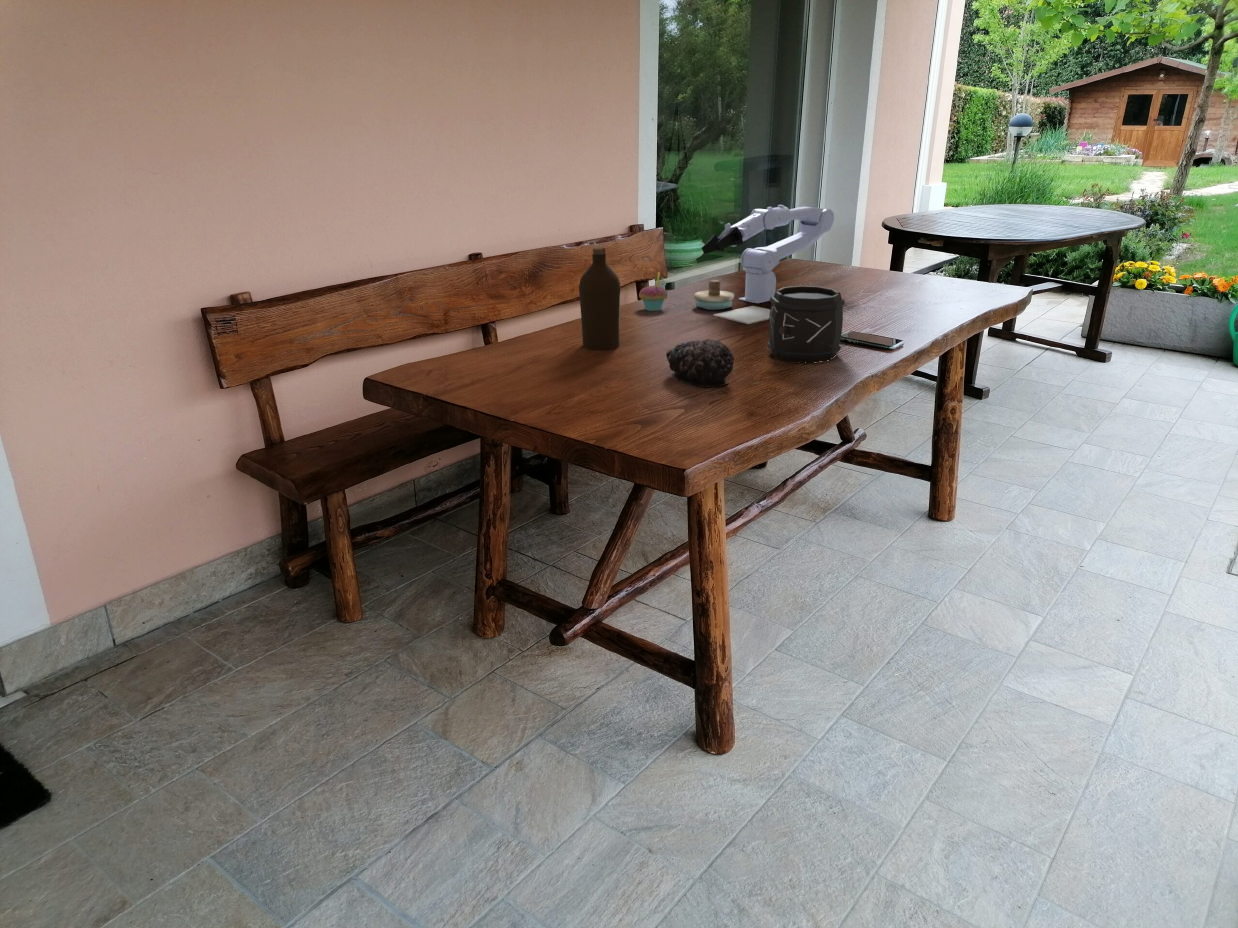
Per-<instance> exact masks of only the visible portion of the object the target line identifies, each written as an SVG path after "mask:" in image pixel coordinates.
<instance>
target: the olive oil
mask: <svg viewBox="0 0 1238 928" xmlns="http://www.w3.org/2000/svg"><path fill="white" fill-rule="evenodd" d="M591 255H592V257H591V259H592V263H591V265H590V266H589V267H588V268H587V269H586V271H585V272H584V273H583V274H582V276H581V277H580V279H579V280H580V281H579V285H578V293H579V294H578V297H579V305H580V307H579V308H580V318H581V319H580V320H581V334H582V335H581V336H582V346H583V347H584V348H585V349H587V350H593V351H607V350H613V349H616V348H618V347H619V345H620V318H621V317H620V316H621V315H620V314H621V313H620V312H621V289H622V288H621V287H622V286H621V282H620V279H619V277H618V276H617V274H616V273H615V272H614V271H613V269H612V268H611V267H610V266H609V265H608V264H607V254H606V248H605V247H603V246H602V247H601V246H600V247H593V248H592V254H591Z"/></svg>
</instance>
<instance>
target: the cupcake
mask: <svg viewBox="0 0 1238 928" xmlns="http://www.w3.org/2000/svg"><path fill="white" fill-rule="evenodd" d="M660 275H661V269H659V270H658V272H657V277H656V283H655V285H647V286H645V287H643V288H642V289H640V290H639V294H638V296H639V298H640V299H641V300H642V302H643V306H644V309H645V310H646V311H649V312H655V311H656V312H657V311H661V310H662V308H663V304H664V301H665V300H666V299H667V298H668V291H667V290H666V289H665V288H664V287H662V286H659V282H660Z"/></svg>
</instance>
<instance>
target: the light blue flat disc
mask: <svg viewBox="0 0 1238 928" xmlns="http://www.w3.org/2000/svg"><path fill="white" fill-rule="evenodd" d="M695 306H696V307H697V308H700V309H704V310H707V311H720V310H725V309H729V308H731V307H733V300H730V301H725V302H705V301H699V300H696V299H695Z"/></svg>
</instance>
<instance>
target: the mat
mask: <svg viewBox="0 0 1238 928" xmlns="http://www.w3.org/2000/svg"><path fill="white" fill-rule="evenodd" d="M770 309H771V308H770ZM770 309H769V308H765V307H760V306H756V305H750V306H745V307H741V308H736V309H732V310H731V309H730V310H727V311H723V312H719V313H713V314H712V316H713V317H716V318H721V319H725V320H729V321H734V322H737V323H743V324H746V325H750V324H755V323H756V324H757V323H759V322H764V321H769V315H770Z"/></svg>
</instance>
